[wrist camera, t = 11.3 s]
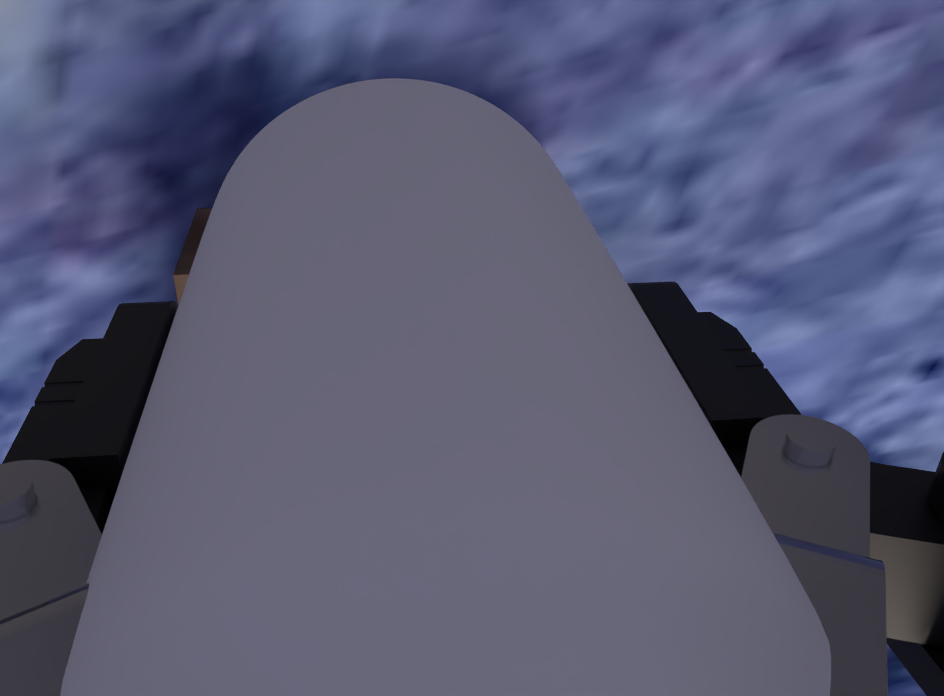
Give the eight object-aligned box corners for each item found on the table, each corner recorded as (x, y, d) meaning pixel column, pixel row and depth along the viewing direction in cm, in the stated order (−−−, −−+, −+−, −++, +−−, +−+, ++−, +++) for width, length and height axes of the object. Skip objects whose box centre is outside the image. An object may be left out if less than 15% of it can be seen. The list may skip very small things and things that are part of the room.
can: (159, 329, 16) (-162, 1227, 6) (297, -6, 13) (144, 583, 3) (469, 440, 18) (623, 1231, 8) (639, 172, 16) (1189, 854, 5)
